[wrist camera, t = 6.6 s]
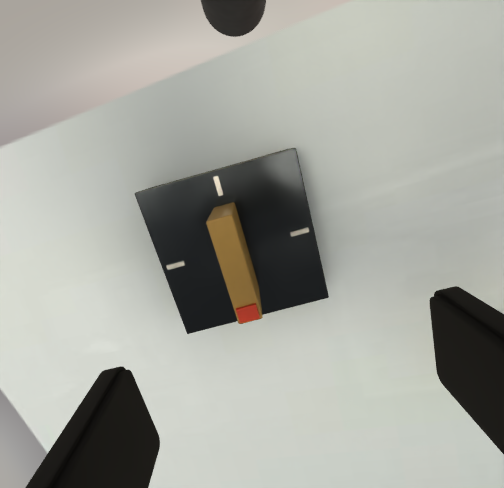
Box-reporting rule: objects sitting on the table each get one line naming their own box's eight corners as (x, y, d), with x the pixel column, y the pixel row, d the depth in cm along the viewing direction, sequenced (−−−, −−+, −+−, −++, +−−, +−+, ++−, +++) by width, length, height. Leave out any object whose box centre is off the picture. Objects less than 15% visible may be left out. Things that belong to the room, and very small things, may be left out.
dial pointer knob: (213, 207, 23) (205, 222, 18) (234, 201, 23) (231, 215, 18) (239, 291, 25) (238, 327, 20) (259, 286, 25) (263, 320, 20)
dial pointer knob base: (146, 188, 25) (133, 193, 22) (289, 148, 25) (296, 147, 22) (192, 316, 29) (186, 335, 26) (320, 282, 28) (329, 298, 25)
